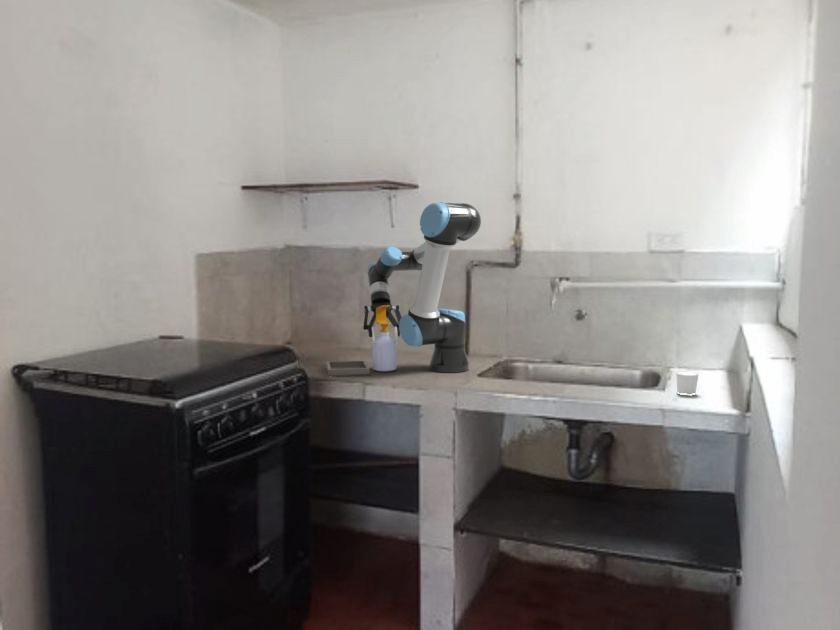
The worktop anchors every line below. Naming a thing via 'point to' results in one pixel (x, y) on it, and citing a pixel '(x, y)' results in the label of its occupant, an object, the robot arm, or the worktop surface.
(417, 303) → the robot arm
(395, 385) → the worktop surface
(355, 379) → the worktop surface
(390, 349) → the soap bottle
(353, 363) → the tray
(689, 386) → the white cup
